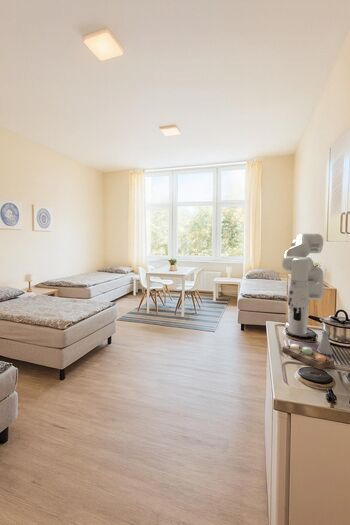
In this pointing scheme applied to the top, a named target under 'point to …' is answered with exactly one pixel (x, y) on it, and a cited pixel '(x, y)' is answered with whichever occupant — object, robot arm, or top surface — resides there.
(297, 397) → the top surface
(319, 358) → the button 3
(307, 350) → the button
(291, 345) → the button
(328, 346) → the flask
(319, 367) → the panel
